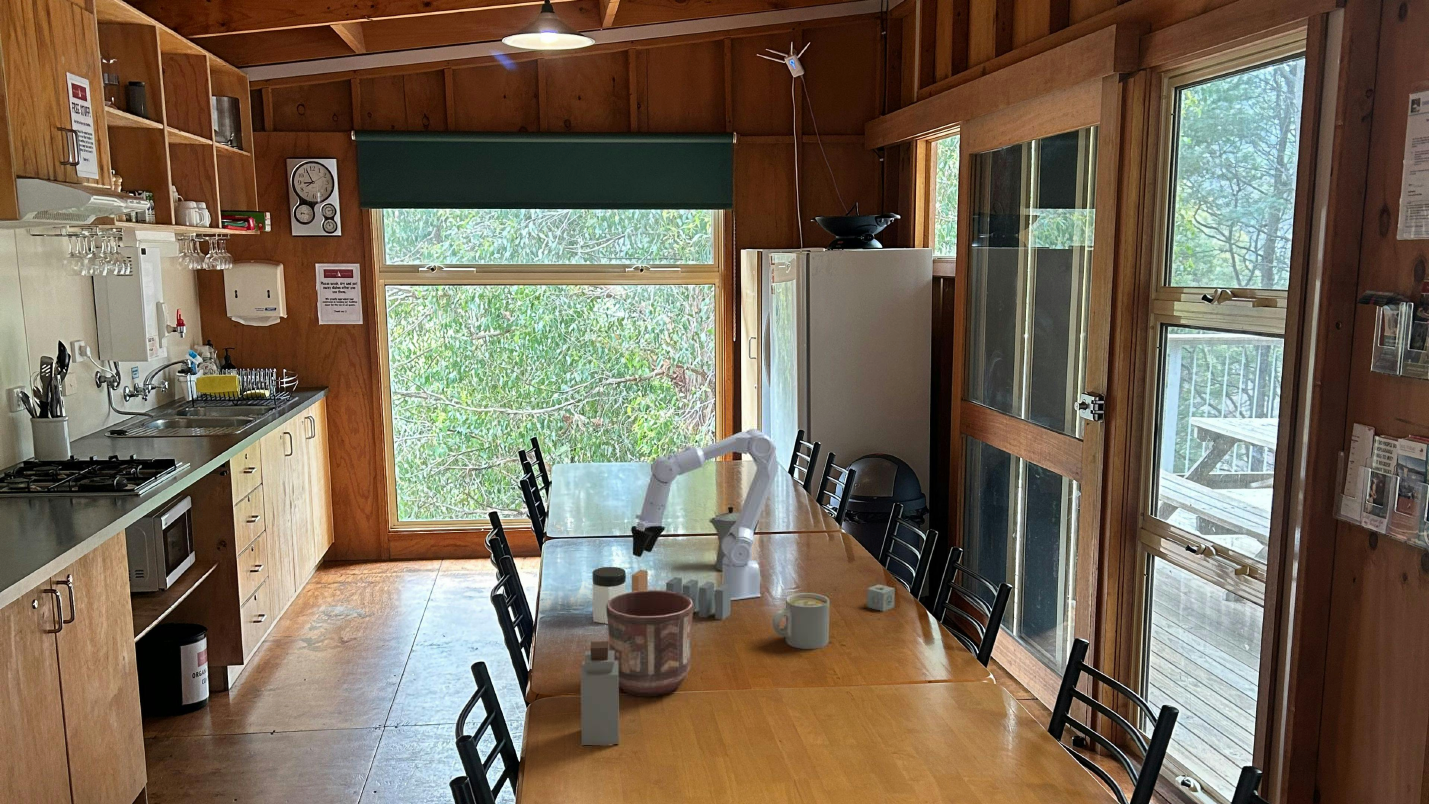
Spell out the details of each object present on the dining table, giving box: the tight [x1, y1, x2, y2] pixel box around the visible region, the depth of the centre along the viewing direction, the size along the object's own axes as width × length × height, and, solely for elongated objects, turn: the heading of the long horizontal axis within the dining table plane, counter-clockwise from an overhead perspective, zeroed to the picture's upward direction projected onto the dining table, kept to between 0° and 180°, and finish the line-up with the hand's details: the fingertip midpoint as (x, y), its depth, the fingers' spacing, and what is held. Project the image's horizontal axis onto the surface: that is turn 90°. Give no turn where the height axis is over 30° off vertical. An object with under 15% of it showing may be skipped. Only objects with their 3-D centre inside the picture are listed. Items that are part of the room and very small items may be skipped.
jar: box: [592, 566, 627, 625], centre depth 255 cm, size 9×8×12 cm
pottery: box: [606, 589, 694, 697], centre depth 215 cm, size 18×18×18 cm
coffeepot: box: [708, 506, 760, 572], centre depth 297 cm, size 15×9×18 cm, turn 113°
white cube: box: [866, 584, 896, 612], centre depth 265 cm, size 5×5×5 cm
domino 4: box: [698, 581, 715, 618], centre depth 259 cm, size 2×5×8 cm, turn 156°
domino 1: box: [631, 569, 649, 592], centre depth 269 cm, size 2×5×8 cm, turn 157°
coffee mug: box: [772, 592, 830, 650], centre depth 241 cm, size 13×10×10 cm
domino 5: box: [714, 584, 732, 621], centre depth 257 cm, size 2×5×8 cm, turn 157°
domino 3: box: [682, 579, 699, 613], centre depth 261 cm, size 2×5×8 cm, turn 157°
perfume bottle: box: [580, 640, 620, 746], centre depth 192 cm, size 7×7×18 cm
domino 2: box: [665, 576, 683, 595], centre depth 263 cm, size 2×5×8 cm, turn 157°
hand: (641, 553), depth 267 cm, fingers open, 7 cm apart
